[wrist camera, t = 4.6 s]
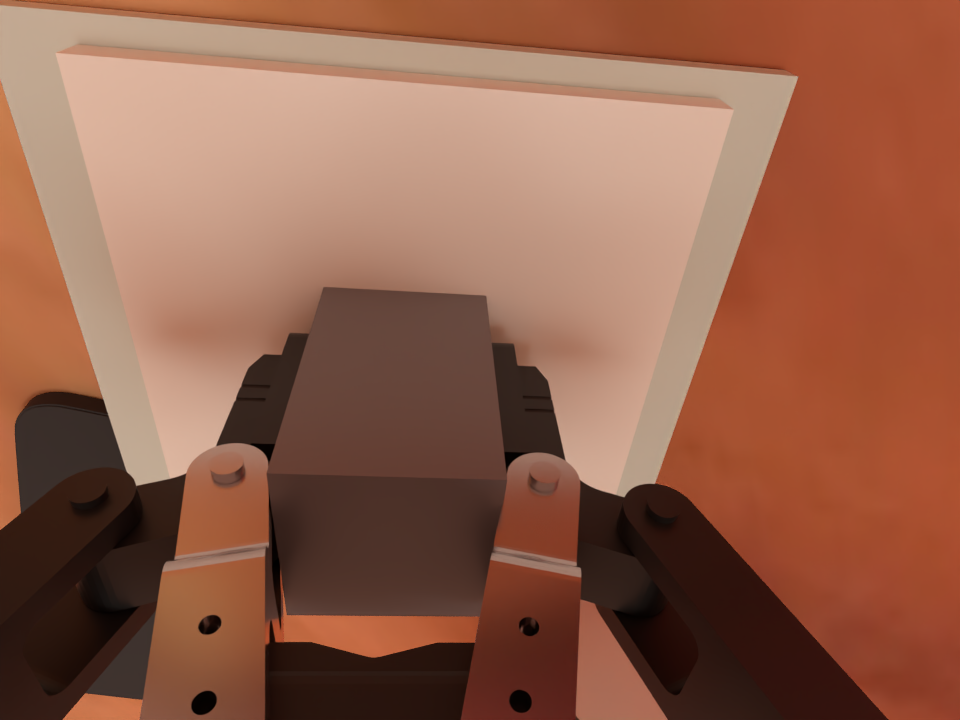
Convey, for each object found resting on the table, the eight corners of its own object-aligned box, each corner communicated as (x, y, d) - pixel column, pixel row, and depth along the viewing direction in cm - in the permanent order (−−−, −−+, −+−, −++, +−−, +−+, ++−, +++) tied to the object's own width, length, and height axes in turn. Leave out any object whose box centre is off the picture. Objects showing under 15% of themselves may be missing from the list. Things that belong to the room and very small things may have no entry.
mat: (784, 70, 13) (797, 76, 12) (636, 506, 20) (641, 521, 20) (-5, -2, 12) (-25, 3, 11) (146, 495, 19) (139, 511, 19)
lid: (719, 98, 13) (908, 233, 7) (599, 511, 19) (655, 727, 14) (76, 44, 11) (-216, 158, 6) (191, 501, 18) (95, 732, 13)
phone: (32, 687, 24) (7, 394, 16) (43, 666, 25) (25, 374, 17) (234, 710, 26) (304, 456, 18) (239, 689, 27) (309, 436, 18)
